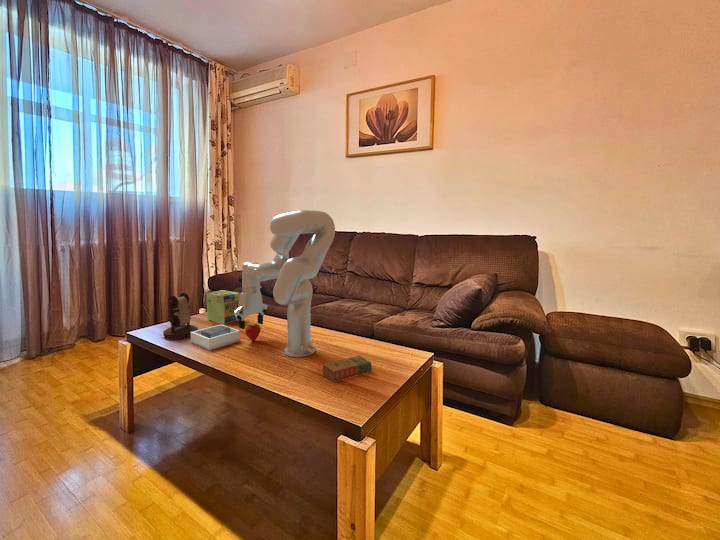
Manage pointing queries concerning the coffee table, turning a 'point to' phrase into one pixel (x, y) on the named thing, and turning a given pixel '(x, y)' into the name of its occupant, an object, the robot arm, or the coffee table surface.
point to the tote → (215, 339)
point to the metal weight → (215, 331)
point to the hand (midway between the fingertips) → (251, 326)
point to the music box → (180, 323)
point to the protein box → (222, 306)
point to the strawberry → (253, 331)
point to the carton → (346, 368)
